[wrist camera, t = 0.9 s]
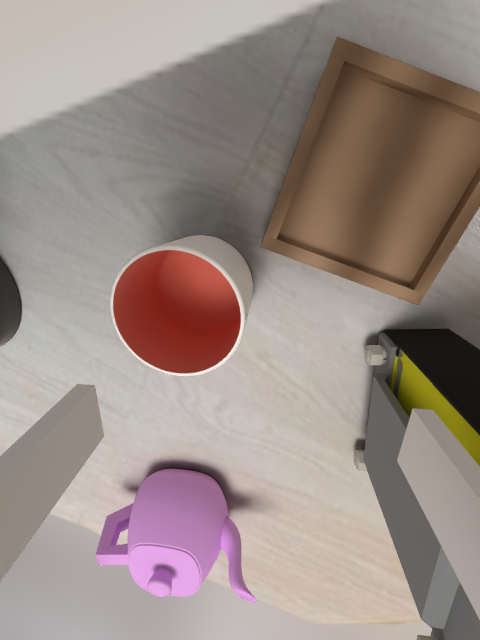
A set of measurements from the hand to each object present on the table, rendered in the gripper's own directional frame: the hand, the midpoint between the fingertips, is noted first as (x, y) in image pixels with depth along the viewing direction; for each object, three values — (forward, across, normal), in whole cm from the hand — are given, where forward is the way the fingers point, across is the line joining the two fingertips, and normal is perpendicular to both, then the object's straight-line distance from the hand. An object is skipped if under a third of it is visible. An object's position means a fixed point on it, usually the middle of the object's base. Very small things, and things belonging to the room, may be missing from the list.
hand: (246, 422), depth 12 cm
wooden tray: (+19, +9, +10) cm, 23 cm away
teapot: (+19, -8, -31) cm, 37 cm away
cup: (+19, -6, +1) cm, 20 cm away
